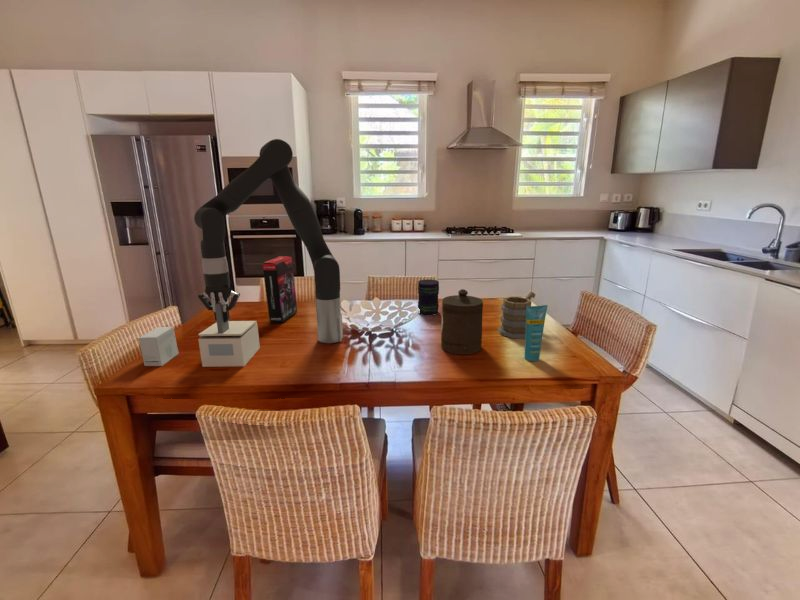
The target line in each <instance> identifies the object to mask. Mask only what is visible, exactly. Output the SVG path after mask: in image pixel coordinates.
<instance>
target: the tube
mask: <svg viewBox="0 0 800 600" xmlns="http://www.w3.org/2000/svg"><path fill="white" fill-rule="evenodd" d="M547 309H548V304H542V305H531V306H526V338H524V339H525V341H524V343H525V345H524V357H523V358H524V359H525V360H526V361H531V362H537V361H540V356H541V347H542V340H543V334H544V327H545V321H546V317H547V311H548V310H547Z"/></svg>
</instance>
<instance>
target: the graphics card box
mask: <svg viewBox="0 0 800 600" xmlns="http://www.w3.org/2000/svg"><path fill="white" fill-rule="evenodd" d="M262 270H263V279H264V287H265V294H266V304H267V310H268V311H267V312H268V319H269V323H270V324H273V323H274V324H276V323H277V324H283V323H285V322H286V321H287V320H288V319H289V318H291V317H292V316H294V315H295V314H297V312H298V306H297V305H298V304H297V296H296V286H295V284H296V283H295V277H294V266H293V258H292V257H291V256H285V255H284V256H283V255H278V256H277V257H275V258H271V259H269V260H266V261H264V262H262Z"/></svg>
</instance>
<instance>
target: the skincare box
mask: <svg viewBox="0 0 800 600" xmlns="http://www.w3.org/2000/svg"><path fill="white" fill-rule="evenodd" d="M137 339H138V342H139V347H140V353H141V356H142V361H143V365H144V367H163V366H164V365H165V364H167V363H168V362H169V361H171V360H172V359H174V358H175V357H177V356H178V355H180V353H179V349H178V344H177V339H176V333H175V329H174V326H159V327H158V326H157V327H155V328H153V329H152V330H149V331H148V332H146V333H144V334H143V335H141V336H139V337H138V338H137Z"/></svg>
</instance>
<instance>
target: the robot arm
mask: <svg viewBox="0 0 800 600" xmlns="http://www.w3.org/2000/svg"><path fill="white" fill-rule="evenodd" d="M258 155H259V157H258V158H256V160H255V161H254V162H252V164H251V165H250V166H249V167H247V168H246V169H245V170H244V171H243V172H241V173H240V174H239V175H237V176H236V177H235V178H234V179H232V180H231V181H230V182H229V183H228V184H226V186H224V188H222V189H221V190H220V192H219V193H217V194H216V195H214V197H212V198H211V199H209V200H208V201H207V202H206V203H204V204H203V205H202V206H200V207H199V208H198V209H197V211H196V212H195V213H194V217H193V219H194V223H195V225H196V226H197V228H200V229H201V232H202V233H201V234H202V240H201V241H200V251H201V252H200V253H201V261H202V262H201V264H202V273H203V280H204V286H205V289H204V292H202V293H200V294H198V296H197V298H198V299H199V301H200V302H201V303H202V304H203V305H204V307H205V308H206V310H207V311H212V312H213V313H214V314H213V315H214V319H215V321H216V322H217V319H216V311H215V304H216V303H217V302H219V301H220V303H221V305H222V310H223V312H222V313H223V320H224V322H227V321H230V317H231V316H230V311H231V310H232V309H234V308H235V307H236V304H237V302H238V300H239V298H240V296H241V293H240V292H235V291H233V288H232V287H231V278H230V269H229V263H228V260H227V255H226V254H227V253H226V246H225V240H226V239H225V237H226V236H225V235H226V222H225V221H226V220H225V217H226V216H227V215H229V214H230V213H234V212H235V211H236V210H238V209H239V208H240V207H241V206H242V205H243V204H244V203H245V202H246V201H247V200H248V199H249V198H250V197H251V196H252V195H253V194H254V193H255V192H256V190H258V188H259V187H261V185H262V184H264V182H266V181H267V180H268V179H269V178H270V180H271V182H272V184H273V185H274V187H275V189H276V191H277V194H278V196H279V198H280V200H281V203H282V205H283V207H284V209H285V212H286V214H287V216H288V219H289V221H290V223H291V225H292V226H293V229H294V230H295V232H296V234H297V235H298V237H299V238H300V240H301V241H302V243H303V244H304V246H305V248H306V250H307V253H308V255H309V258H310V261H311V264H312V268H313V273H314V294H315V296H314V297H315V306H316V307H315V309H316V311H315V312H316V323H317V326H316V327H317V338H318V340H317V341H318V342H320V343H323V344H333V343H340V342H342V340H343V337H344V331H343V327H344V326H343V314H342V309H341V308H342V307H341V274H340V273H341V271H340V265H339V262H338V261H337V259H336V258H335V257H334V256H333V254H332V251H331V250H330V248H329V247H328V244H327V242H326V240H325V238H324V236H323V231H322V228H321V223H320V221H319V219H318V216H317V213H316V211H315V209H314V206H313V204H312V202H311V201H310V199H309V197H308V196H307V195H306V194H305V192H304V191H303V190H302V189H301V187H299V185H298V184H297V183H296V180H294V177H293V176H292V173H291V170H290V167H289V164H290V163H291V162H292V160H293V155H294V154H293V149H292V147H291V145H290V144H289V142H287V141H286V140H284V139H280V138H274V139H272V140H269V141H268V142H266V143H265V144H264V145H262V147H261V148H260V150H259V154H258ZM229 297H230V298H231V301H229Z"/></svg>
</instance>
